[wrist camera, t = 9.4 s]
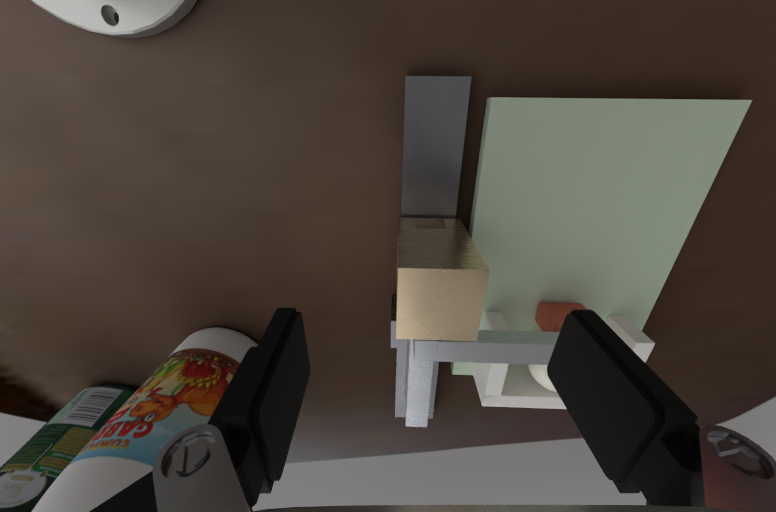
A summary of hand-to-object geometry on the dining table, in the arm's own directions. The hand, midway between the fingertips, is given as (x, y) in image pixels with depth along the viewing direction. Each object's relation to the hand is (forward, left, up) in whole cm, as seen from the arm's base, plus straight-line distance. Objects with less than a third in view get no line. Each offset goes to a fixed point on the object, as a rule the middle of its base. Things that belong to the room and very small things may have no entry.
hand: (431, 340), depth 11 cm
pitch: (+2, +11, -11) cm, 16 cm away
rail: (+5, +1, -11) cm, 12 cm away
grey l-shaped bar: (+8, +6, -10) cm, 14 cm away
